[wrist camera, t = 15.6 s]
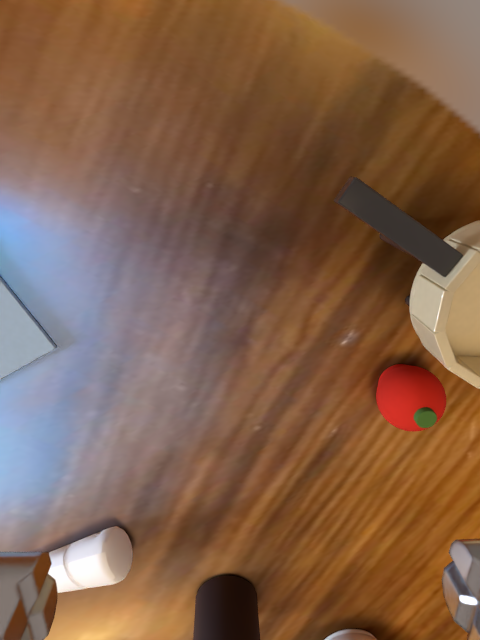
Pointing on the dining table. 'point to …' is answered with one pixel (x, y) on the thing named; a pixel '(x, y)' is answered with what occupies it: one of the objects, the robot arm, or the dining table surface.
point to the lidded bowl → (351, 635)
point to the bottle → (226, 610)
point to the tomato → (410, 397)
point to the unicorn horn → (92, 561)
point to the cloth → (19, 334)
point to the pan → (431, 278)
